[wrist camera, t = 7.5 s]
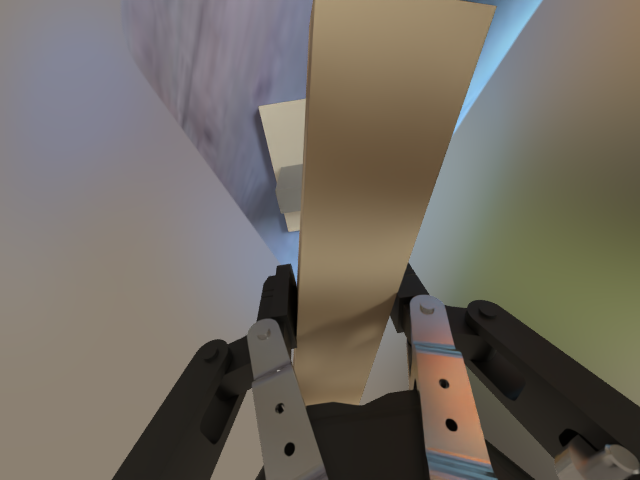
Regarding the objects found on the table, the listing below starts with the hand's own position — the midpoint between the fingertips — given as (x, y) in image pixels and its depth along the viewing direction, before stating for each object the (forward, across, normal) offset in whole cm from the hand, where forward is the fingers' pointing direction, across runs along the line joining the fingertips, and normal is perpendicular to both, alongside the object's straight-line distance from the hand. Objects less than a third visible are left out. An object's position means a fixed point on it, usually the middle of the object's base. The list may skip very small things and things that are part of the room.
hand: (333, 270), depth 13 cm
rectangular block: (+1, 0, 0) cm, 1 cm away
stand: (+21, 0, 0) cm, 21 cm away
